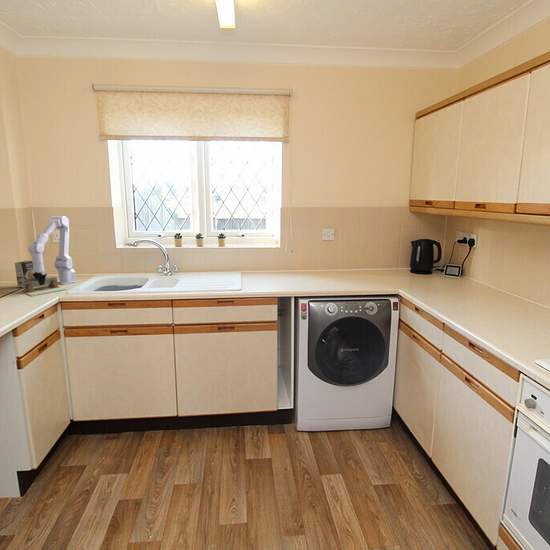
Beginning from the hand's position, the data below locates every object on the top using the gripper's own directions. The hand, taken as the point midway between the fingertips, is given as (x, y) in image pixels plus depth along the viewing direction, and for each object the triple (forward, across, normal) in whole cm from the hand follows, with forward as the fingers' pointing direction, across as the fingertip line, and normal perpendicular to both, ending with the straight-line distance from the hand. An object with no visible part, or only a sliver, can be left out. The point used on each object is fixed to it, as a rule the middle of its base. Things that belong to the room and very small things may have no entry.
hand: (40, 284), depth 246 cm
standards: (+3, 0, 0) cm, 3 cm away
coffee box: (+3, -17, -2) cm, 17 cm away
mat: (+3, +9, 0) cm, 10 cm away
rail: (0, 0, 0) cm, 0 cm away
